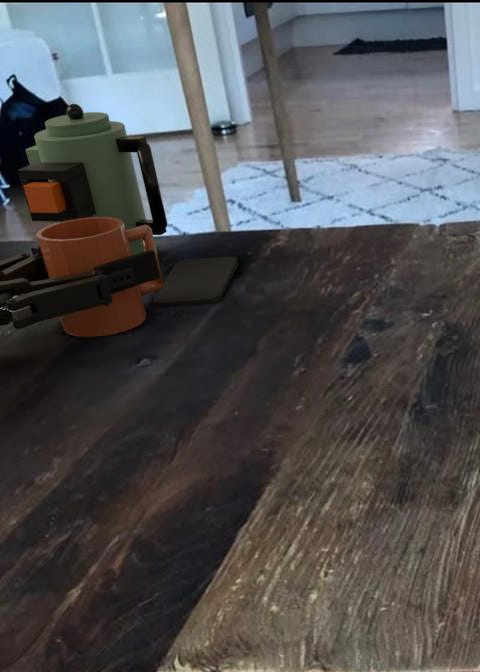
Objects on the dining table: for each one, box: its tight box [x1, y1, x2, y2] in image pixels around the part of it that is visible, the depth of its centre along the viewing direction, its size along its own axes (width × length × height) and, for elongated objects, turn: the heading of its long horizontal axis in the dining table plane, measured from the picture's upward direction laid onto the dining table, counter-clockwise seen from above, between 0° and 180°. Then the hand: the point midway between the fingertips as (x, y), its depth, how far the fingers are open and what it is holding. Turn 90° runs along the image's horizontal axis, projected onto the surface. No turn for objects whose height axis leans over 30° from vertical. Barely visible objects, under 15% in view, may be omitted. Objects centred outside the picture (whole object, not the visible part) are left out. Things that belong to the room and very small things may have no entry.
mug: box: [35, 217, 164, 338], centre depth 115 cm, size 12×8×10 cm
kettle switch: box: [24, 182, 68, 213], centre depth 123 cm, size 4×2×3 cm, turn 72°
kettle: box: [17, 103, 168, 255], centre depth 129 cm, size 16×14×18 cm
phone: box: [152, 256, 239, 307], centre depth 126 cm, size 7×1×15 cm
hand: (129, 257), depth 116 cm, fingers closed on mug, 8 cm apart
